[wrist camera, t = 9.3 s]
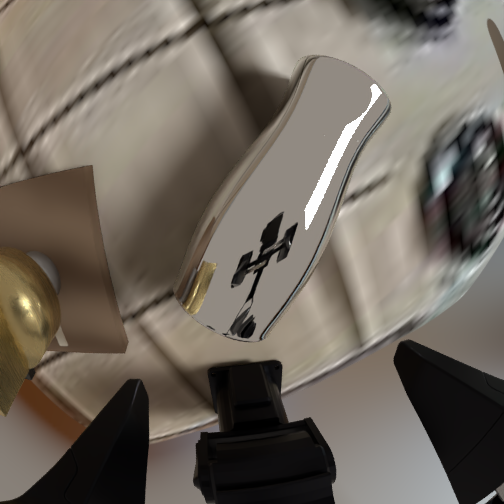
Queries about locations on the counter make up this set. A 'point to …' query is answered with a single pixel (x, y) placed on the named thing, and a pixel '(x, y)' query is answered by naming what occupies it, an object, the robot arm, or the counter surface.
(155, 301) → the counter surface
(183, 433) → the counter surface
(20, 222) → the base
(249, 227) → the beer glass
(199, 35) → the counter surface
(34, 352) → the cap
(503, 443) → the robot arm
